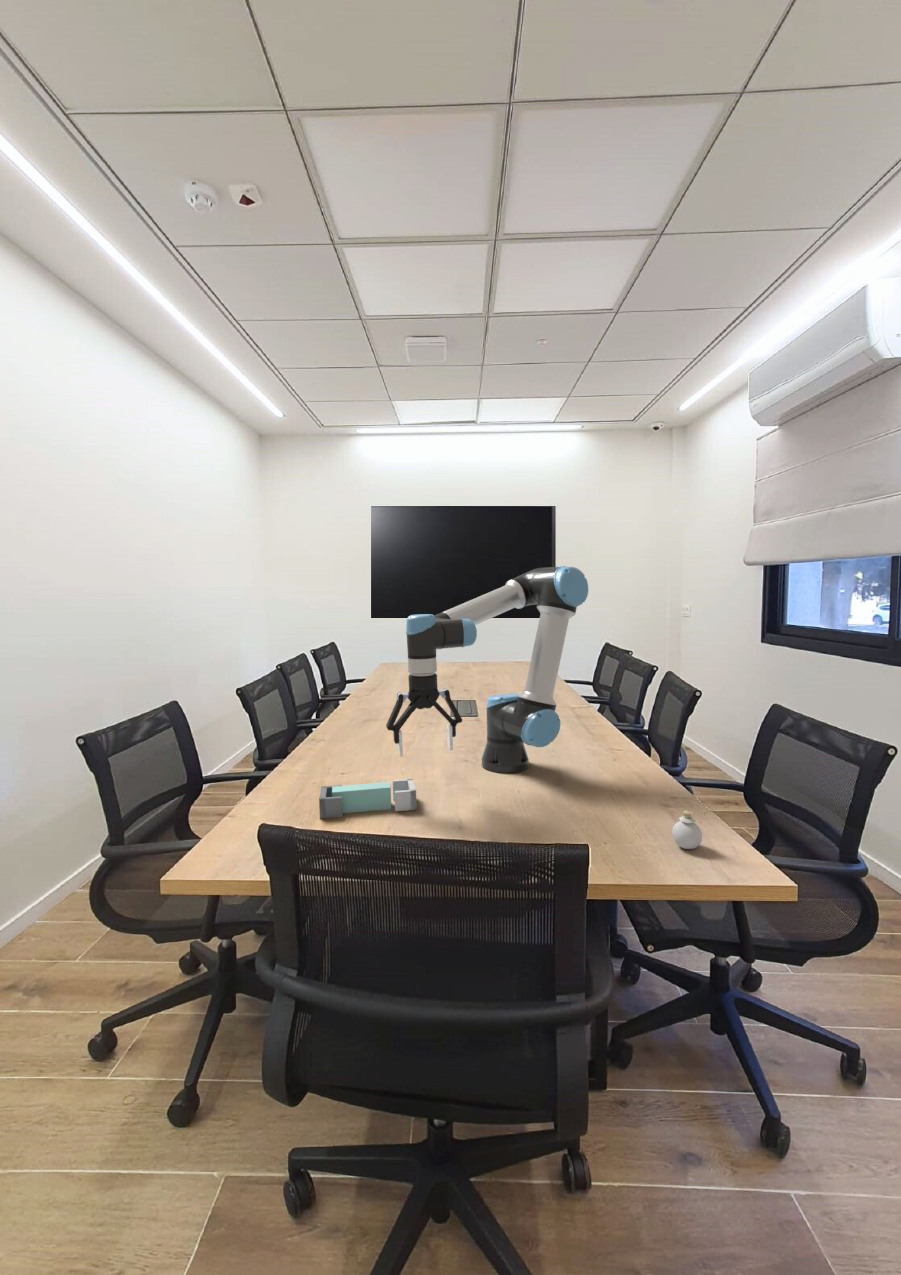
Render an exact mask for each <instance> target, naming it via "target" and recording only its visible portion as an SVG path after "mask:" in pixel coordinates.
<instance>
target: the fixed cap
mask: <svg viewBox="0 0 901 1275" xmlns="http://www.w3.org/2000/svg"><path fill="white" fill-rule="evenodd" d="M335 786H343V785H342V784H338V785H337V784H336V785H326V786H325V785H324V786H323V785H322V786H321V787H320V791H319V792H320V793H319V798H318V804H319V806H318V807H319V819H320V818H322V819H333V818H332V817H334V818H342V817H343V813H342V796H338V797H332V787H335Z"/></svg>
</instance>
